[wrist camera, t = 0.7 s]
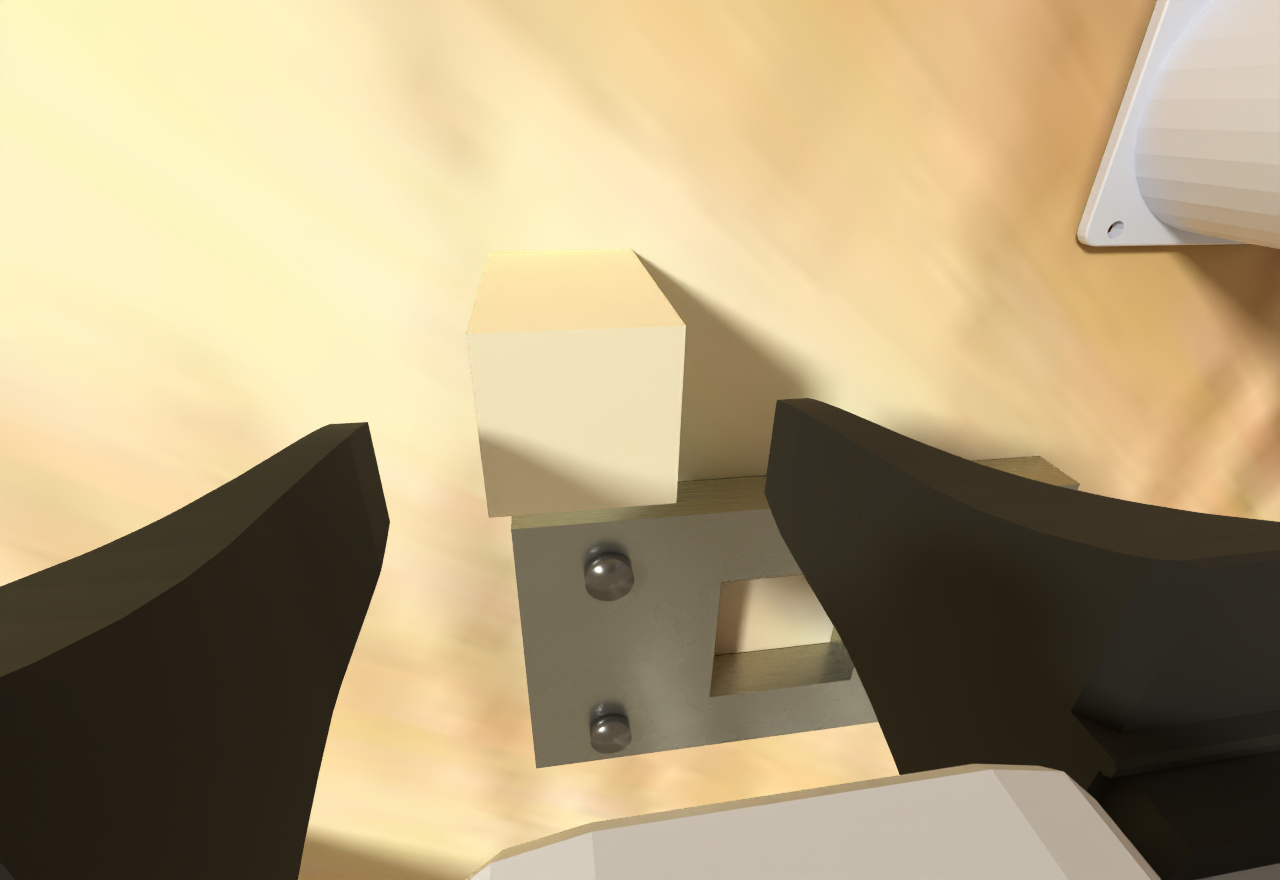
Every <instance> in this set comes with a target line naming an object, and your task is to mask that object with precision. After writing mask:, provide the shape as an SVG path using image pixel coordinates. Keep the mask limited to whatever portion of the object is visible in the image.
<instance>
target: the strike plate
mask: <svg viewBox="0 0 1280 880" xmlns="http://www.w3.org/2000/svg"><path fill="white" fill-rule="evenodd" d="M972 462H975V463H978V464H981V465H984V466H988V467H991V468H995V469H998V470H1001V471H1005V472H1008V473H1011V474H1015V475H1018V476H1021V477H1025V478H1028V479H1032V480H1036V481H1040V482H1044V483H1048V484H1051V485H1056V486H1060V487H1064V488H1069V489H1073V490H1077V489H1078V487H1079V485H1080V484H1079V483H1078V482H1076V481H1075V480H1073V479H1072V478H1070V477H1069V476H1067V475H1066V474H1065V473H1063V472H1062V471H1060V470H1059V469H1057V468H1056V467H1054V466H1053V465H1052V464H1050V463H1049V462H1047V461H1046V460H1044V459H1043V458H1041V457H1040V456H1035V457H1021V458H1007V459H993V460H979V461H972ZM766 477H767V476H755V477H741V478H727V479H713V480H699V481H685V482H677V500H676V503H672V504H659V505H646V506H633V507H620V508H607V509H594V510H581V511H568V512H556V513H543V514H530V515H517V516H512V524H511V532H512V541H513V551H514V560H515V570H516V579H517V589H518V598H519V608H520V617H521V627H522V636H523V646H524V655H525V665H526V674H527V684H528V694H529V703H530V713H531V722H532V732H533V741H534V751H535V760H536V768H543V767H550V766H557V765H565V764H572V763H580V762H587V761H594V760H602V759H609V758H616V757H624V756H631V755H638V754H646V753H653V752H660V751H668V750H675V749H682V748H690V747H697V746H704V745H712V744H719V743H726V742H734V741H741V740H748V739H756V738H763V737H770V736H778V735H785V734H792V733H800V732H807V731H814V730H822V729H829V728H836V727H844V726H851V725H858V724H866V723H873V722H878V720H877V717H876V715H875V712H874V710H873V707H872V705H871V703H870V700H869V698H868V696H867V694H866V691H865V689H864V687H863V685H862V682H861V680H860V678H859V676H858V674H857V671H856V669H855V667H854V665H853V662H852V660H851V658H850V656H849V653H848V651H847V649H846V647H845V646H844V644H843V642H842V640H841V638H840V636H839V634H838V632H837V631H836V629H835V627H834V628H833V632H832V637H831V641H830V643H824V644H816V645H807V646H798V647H789V648H781V649H772V650H763V651H755V652H746V653H737V654H728V655H720V656H714V649H715V640H716V630H717V621H718V611H719V602H720V592H721V583H722V582H729V581H739V580H749V579H760V578H770V577H780V576H791V575H801V574H803V573H802V571H801V570H800V568H799V566H798V564H797V563H796V561H795V559H794V557H793V556H792V554H791V552H790V551H789V549H788V547H787V545H786V543H785V542H784V540H783V538H782V536H781V534H780V532H779V529H778V527H777V525H776V522H775V520H774V517H773V515H772V512H771V510H770V507H769V504H768V501H767V499H766V496H765V493H764V491H765V484H766Z"/></svg>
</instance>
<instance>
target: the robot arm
mask: <svg viewBox="0 0 1280 880" xmlns="http://www.w3.org/2000/svg"><path fill="white" fill-rule="evenodd" d="M1112 224H1113V228H1112V229H1111V231H1110V232H1109V233H1108V229H1109V228H1110V226H1111V225H1112ZM1077 236H1078V240H1079V241H1080V242H1081V243H1082V244H1086V245H1090V246H1152V245H1214V244H1255V245H1260V246H1265V247H1271V248H1276V249H1280V0H1157V2H1156V5H1155V8H1154V11H1153V14H1152V17H1151V20H1150V23H1149V25H1148V28H1147V31H1146V34H1145V37H1144V40H1143V43H1142V46H1141V49H1140V51H1139V54H1138V57H1137V60H1136V63H1135V66H1134V69H1133V72H1132V75H1131V77H1130V80H1129V83H1128V86H1127V89H1126V92H1125V95H1124V98H1123V100H1122V103H1121V106H1120V109H1119V112H1118V115H1117V118H1116V121H1115V124H1114V126H1113V129H1112V132H1111V135H1110V138H1109V141H1108V144H1107V147H1106V150H1105V152H1104V155H1103V158H1102V161H1101V164H1100V167H1099V170H1098V173H1097V176H1096V178H1095V181H1094V184H1093V187H1092V190H1091V193H1090V196H1089V199H1088V202H1087V204H1086V207H1085V210H1084V213H1083V216H1082V219H1081V222H1080V225H1079V228H1078V232H1077ZM764 493H765V496H766V499H767V501H768V504H769V507H770V510H771V512H772V515H773V517H774V520H775V522H776V525H777V527H778V529H779V532H780V534H781V536H782V538H783V540H784V542H785V543H786V545H787V547H788V549H789V551H790V552H791V554H792V556H793V557H794V559H795V561H796V563H797V564H798V566H799V568H800V570H801V571H802V573H803V575H804V576H805V578H806V580H807V581H808V583H809V585H810V586H811V588H812V590H813V591H814V593H815V595H816V597H817V598H818V600H819V602H820V603H821V605H822V607H823V608H824V610H825V612H826V613H827V615H828V617H829V618H830V620H831V622H832V624H833V625H834V627H835V629H836V631H837V632H838V634H839V636H840V638H841V640H842V642H843V644H844V646H845V647H846V649H847V651H848V653H849V656H850V658H851V660H852V662H853V665H854V667H855V669H856V671H857V674H858V676H859V678H860V680H861V682H862V685H863V687H864V689H865V691H866V694H867V696H868V698H869V700H870V703H871V705H872V707H873V710H874V712H875V715H876V717H877V720H878V722H879V724H880V727H881V729H882V732H883V734H884V736H885V739H886V741H887V744H888V746H889V748H890V751H891V753H892V756H893V758H894V761H895V764H896V766H897V769H898V771H899V774H900V775H898V776H892V777H885V778H879V779H872V780H866V781H859V782H853V783H846V784H840V785H833V786H827V787H820V788H814V789H807V790H801V791H794V792H788V793H781V794H775V795H768V796H762V797H755V798H749V799H742V800H736V801H729V802H723V803H716V804H710V805H703V806H697V807H690V808H684V809H678V810H671V811H665V812H658V813H652V814H645V815H639V816H632V817H626V818H619V819H613V820H606V821H600V822H593V823H589V824H585V825H582V826H579V827H576V828H572V829H569V830H566V831H563V832H560V833H556V834H553V835H550V836H547V837H543V838H540V839H537V840H534V841H531V842H527V843H524V844H521V845H518V846H515V847H511V848H508V849H505V850H503V851H501V852H500V853H499V854H498V855H496V856H495V857H494V858H492V859H491V860H490V861H488V862H487V863H486V864H485V865H483V866H482V867H481V868H479V869H478V870H477V871H475V872H474V873H473V874H472V875H470V876H469V877H468V878H466V879H465V880H1280V522H1275V521H1266V520H1257V519H1248V518H1239V517H1230V516H1221V515H1212V514H1205V513H1198V512H1191V511H1185V510H1179V509H1172V508H1166V507H1160V506H1154V505H1147V504H1141V503H1136V502H1131V501H1125V500H1120V499H1115V498H1110V497H1105V496H1100V495H1095V494H1091V493H1087V492H1082V491H1078V490H1073V489H1069V488H1064V487H1060V486H1056V485H1051V484H1048V483H1044V482H1040V481H1036V480H1032V479H1028V478H1025V477H1021V476H1018V475H1015V474H1011V473H1008V472H1005V471H1001V470H998V469H995V468H991V467H988V466H984V465H981V464H978V463H975V462H972V461H969V460H966V459H963V458H961V457H958V456H955V455H953V454H950V453H947V452H945V451H942V450H939V449H936V448H934V447H931V446H928V445H926V444H923V443H921V442H918V441H916V440H913V439H911V438H908V437H906V436H904V435H901V434H899V433H896V432H894V431H892V430H889V429H887V428H885V427H882V426H880V425H878V424H875V423H873V422H871V421H868V420H866V419H863V418H861V417H859V416H856V415H854V414H852V413H849V412H847V411H845V410H842V409H840V408H837V407H834V406H832V405H829V404H826V403H824V402H820V401H817V400H813V399H809V398H804V399H786V400H777V403H776V411H775V418H774V425H773V433H772V440H771V447H770V455H769V462H768V469H767V477H766V484H765V491H764ZM389 524H390V520H389V516H388V511H387V507H386V502H385V498H384V493H383V489H382V484H381V480H380V475H379V471H378V466H377V461H376V457H375V452H374V448H373V443H372V439H371V434H370V430H369V425H368V422H363V423H345V424H329V425H327V426H324V427H322V428H320V429H318V430H316V431H314V432H312V433H310V434H308V435H307V436H305V437H303V438H301V439H300V440H298V441H296V442H295V443H293V444H291V445H290V446H288V447H286V448H285V449H283V450H281V451H280V452H278V453H277V454H275V455H273V456H272V457H270V458H268V459H267V460H265V461H263V462H262V463H260V464H258V465H257V466H255V467H253V468H252V469H250V470H248V471H247V472H245V473H243V474H242V475H240V476H238V477H237V478H235V479H233V480H231V481H230V482H228V483H226V484H224V485H222V486H221V487H219V488H217V489H215V490H213V491H212V492H210V493H208V494H206V495H204V496H203V497H201V498H199V499H197V500H195V501H194V502H192V503H190V504H188V505H186V506H185V507H183V508H181V509H179V510H177V511H175V512H173V513H171V514H170V515H168V516H166V517H164V518H162V519H160V520H158V521H156V522H154V523H151V524H149V525H147V526H145V527H143V528H141V529H139V530H137V531H135V532H132V533H130V534H128V535H126V536H124V537H121V538H119V539H117V540H115V541H113V542H111V543H108V544H106V545H104V546H102V547H99V548H97V549H95V550H92V551H90V552H88V553H85V554H83V555H81V556H78V557H75V558H73V559H70V560H68V561H65V562H63V563H60V564H57V565H55V566H52V567H50V568H47V569H45V570H42V571H39V572H37V573H34V574H32V575H29V576H27V577H24V578H22V579H19V580H16V581H14V582H11V583H9V584H6V585H4V586H1V587H0V880H298V875H299V870H300V864H301V859H302V853H303V848H304V842H305V837H306V833H307V828H308V823H309V818H310V813H311V808H312V804H313V799H314V794H315V789H316V784H317V779H318V775H319V770H320V766H321V761H322V757H323V753H324V748H325V744H326V740H327V735H328V731H329V727H330V722H331V718H332V714H333V710H334V707H335V704H336V700H337V697H338V694H339V690H340V687H341V684H342V681H343V678H344V675H345V673H346V670H347V667H348V664H349V661H350V658H351V656H352V653H353V650H354V647H355V644H356V641H357V639H358V636H359V633H360V630H361V627H362V625H363V622H364V619H365V616H366V613H367V610H368V608H369V605H370V602H371V599H372V596H373V593H374V590H375V587H376V584H377V581H378V578H379V575H380V572H381V568H382V563H383V558H384V553H385V548H386V542H387V536H388V530H389Z"/></svg>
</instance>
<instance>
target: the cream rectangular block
mask: <svg viewBox="0 0 1280 880" xmlns="http://www.w3.org/2000/svg"><path fill="white" fill-rule="evenodd" d="M685 335H686V325H685V324H684V322H683V321H682V320H681V318H680V317H679V315H678V314H677V313H676V311H675V310H674V308H673V307H672V305H671V304H670V303H669V301H668V300H667V298H666V297H665V296H664V294H663V293H662V291H661V290H660V289H659V287H658V286H657V284H656V283H655V282H654V280H653V279H652V277H651V276H650V274H649V273H648V272H647V270H646V269H645V267H644V266H643V265H642V263H641V262H640V260H639V259H638V258H637V256H636V255H635V253H634V252H633V251H632V249H629V250H562V251H496V252H489V253H488V256H487V260H486V263H485V267H484V270H483V274H482V278H481V281H480V285H479V288H478V292H477V295H476V299H475V302H474V306H473V310H472V313H471V317H470V320H469V324H468V327H467V331H466V339H467V347H468V355H469V363H470V371H471V379H472V387H473V395H474V403H475V411H476V419H477V427H478V435H479V443H480V451H481V459H482V467H483V475H484V483H485V491H486V499H487V507H488V515H489V518H491V517H504V516H517V515H530V514H543V513H556V512H568V511H581V510H594V509H607V508H620V507H633V506H646V505H659V504H672V503H676V500H677V482H678V464H679V445H680V427H681V409H682V390H683V372H684V354H685Z"/></svg>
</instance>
